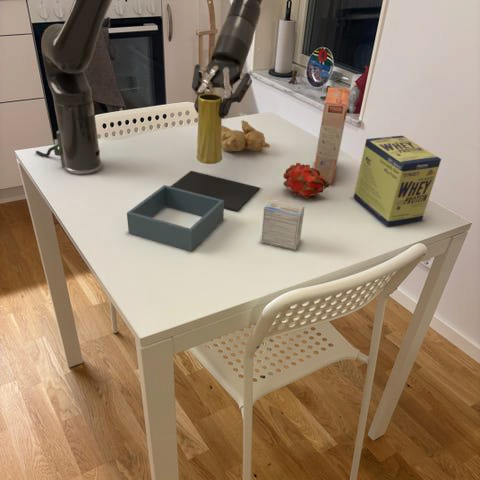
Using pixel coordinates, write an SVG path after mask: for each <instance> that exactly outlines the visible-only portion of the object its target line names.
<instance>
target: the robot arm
mask: <svg viewBox="0 0 480 480" xmlns="http://www.w3.org/2000/svg"><path fill="white" fill-rule="evenodd" d="M112 2H113V0H73V2H72V5H71V8H70V10H69V13H68V15H67V17H66V19H65V21H64V23H54V24H51V25H49V26H48V27H46V29H45V31H44V32H43V33H42V37H41V42H40V43H41V44H40V45H41V54H42V59H43V65H44V70H45V75H46V80H47V83H48V87H49V90H50V91H51V95H52V98H53V99H52V100H53V104H54V110H55V116H56V121H57V122H56V123H57V129H58V130H57V131H56V133H55V134H56V140H57V144H55V145H53V146H51V147H49V148H48V149H47V151H46V153H44V152H41V151H40V150H36V151H35V154H36V155H39V156H41V157H44V158H46V157H49V156H50V155H51V152H52V151H53V152H54V155H55V156H59V157H60V163H61V168H62V169H65V171H66V172H68V173H70V174H74V175H89V174H93V173H97V172H99V170H101V168H102V161H101V147H100V146H99V145H100V144H99V138H98V130H97V122H96V121H97V120H96V113H95V106H94V99H93V91H92V88H91V86H90V84H89V82H88V80H87V77H86V74H85V70H86V69H87V68H88V66H89V65H90V63H91V61H92V57H93V55H94V52H95V48H96V46H97V45H96V44H97V42H98V39H99V35H100V32H101V28H102V26H103V23H104V20H105V18H106V15H107V13H108V11H109V9H110V7H111V4H112ZM262 2H263V0H232V2H231V4H230V7H229V9H228V12H227V15H226V18H225V21H224V22H223V24H222V26H221V29H220V31H219V34H218V35H217V40H216V43H215V45H214V49H213V51H212V54H211V59H210V62H209V63H208V64H207V65H206V66H201V65H200V64H195V65H194V71H193V77H192V83H191V89H192V90H193V92H194V93H195V95H196V99H195V101H194V104H193V108H194V110H195V112H196V114H198V97H199V95H201V94H205V93H213V92H214V90H215V88H216V89H217V88H218V89H219V88H220V89H222V90H224V98H222V104H221V107H220V110H219V116H220V117H221V119H225V118H226V117H227V116H228V115H229V112H230V109H231V107H232V104H233V103H239V104H240V103H241V102H242V100H243V99H244V97H245V95H246V93H247V92H248V90H249V88H250V87H251V85H252V83H253V79H252V77H251V74H250V73H249V72H246V73H243V70H244V67H245V64H246V61H247V59H248V55H249V53H250V51H251V47H252V45H253V41H254V36H255V33H256V29H257V27H258V24H259V21H260V17H261V13H262V8H261V5H262ZM206 74H207V76H206ZM205 76H206V77H205ZM203 78H204V79H203ZM237 82H239V83H238V85H237V87H236V89H235V91H234V85H235V84H236V83H237Z"/></svg>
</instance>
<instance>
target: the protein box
mask: <svg viewBox="0 0 480 480" xmlns="http://www.w3.org/2000/svg"><path fill="white" fill-rule="evenodd" d="M441 162H442V158H440V157H439V156H438V155H436V154H434V153H432V152H430V151H428V150H427V149H425V148H424V147H422V146H421V145H418V144H417V143H416V142H414V141H413V140H410V139H409V138H407V137H406V136H404V135H394V136H392V135H391V136H383V137H372V138H365V143H364V148H363V153H362V157H361V162H360V166H359V171H358V176H357V180H356V185H355V189H354V192H353V193H354V194H353V199H354V200H355V201H356V202H357V203H359V204H360V205H361V206H362V207H363V208H365V209H366V210H367V211H368V212H369V213H370V214H371V215H373V217H375V218H376V219H377V220H378V221H379V222H381V224H383V225H384V226H385V227H392V226H397V225H402V224H403V225H404V224H409V223H410V224H411V223H415V222H422V221H423V218H424V215H425V212H426V209H427V206H428V203H429V199H430V196H431V192H432V190H433V188H434V187H433V186H434V183H435V180H436V177H437V174H438V171H439V167H440V164H441Z"/></svg>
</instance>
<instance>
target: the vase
mask: <svg viewBox="0 0 480 480" xmlns="http://www.w3.org/2000/svg"><path fill="white" fill-rule="evenodd" d="M222 102H223V96H222V95H220V94H217V93H213V92H210V93H205V94H201V95H199V97H198V113H197V139H196V140H197V142H196V160H197V161H198V162H199V163H202V164H206V165H215V164H219V163H221V162H222V161H223V149H222V142H223V141H222V135H221V126H222V118H221V117H220V116H219V110H220V107H221V104H222Z"/></svg>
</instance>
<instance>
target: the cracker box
mask: <svg viewBox="0 0 480 480" xmlns="http://www.w3.org/2000/svg"><path fill="white" fill-rule="evenodd" d="M350 91H351V90H350V89H348V88H344V87H343V88H342V87H341V88H340V87H332V86H329V87H328V88H327V93H326V96H325V100H324V107H323V110H322V116H321V122H320V129H319V135H318V141H317V146H316V151H315V160H314V166H313V168H314V169H317V170H318V171H319V172H320V174H319V175H320V176H321V177H324V178H325V179H327V181H328V183H329V184H328V185H331V186H332V185H333V184H334V179H335V173H336V170H337V164H338V159H339V155H340V149H341V144H342V139H343V134H344V129H345V124H346V118H347V114H348V108H349V100H350ZM317 174H318V173H317Z"/></svg>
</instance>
